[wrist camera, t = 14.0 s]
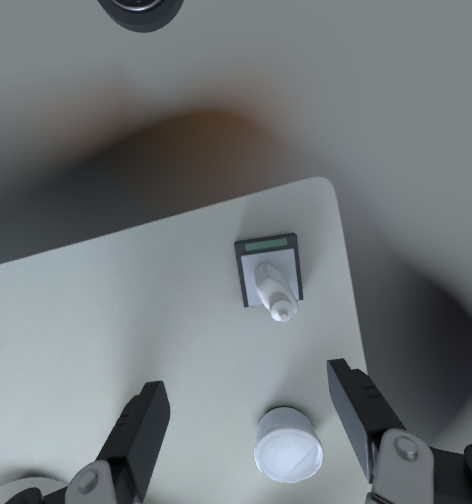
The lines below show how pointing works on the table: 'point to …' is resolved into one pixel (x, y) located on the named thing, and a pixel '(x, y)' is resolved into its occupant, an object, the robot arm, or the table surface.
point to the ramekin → (287, 446)
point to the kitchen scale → (274, 253)
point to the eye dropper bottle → (275, 292)
